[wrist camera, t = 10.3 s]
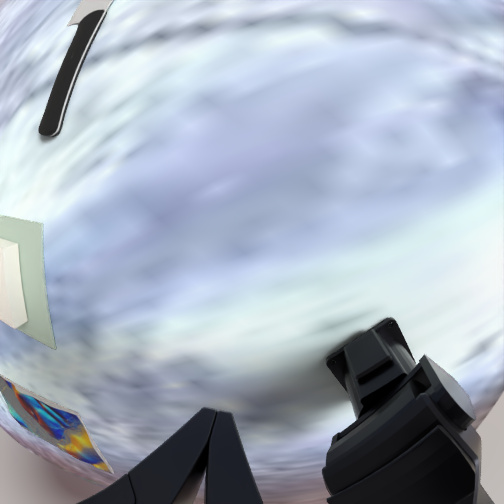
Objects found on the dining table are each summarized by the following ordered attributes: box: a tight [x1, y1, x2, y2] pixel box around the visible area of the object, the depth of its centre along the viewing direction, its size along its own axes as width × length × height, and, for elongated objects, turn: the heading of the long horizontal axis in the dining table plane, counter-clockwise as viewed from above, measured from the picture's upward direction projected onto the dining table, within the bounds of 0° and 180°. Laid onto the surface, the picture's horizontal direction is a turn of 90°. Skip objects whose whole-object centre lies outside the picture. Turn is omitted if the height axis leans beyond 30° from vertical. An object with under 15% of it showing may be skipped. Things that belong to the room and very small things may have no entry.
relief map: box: [0, 374, 114, 474], centre depth 28 cm, size 25×15×2 cm, turn 91°
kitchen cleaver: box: [39, 0, 113, 136], centre depth 14 cm, size 31×2×10 cm
